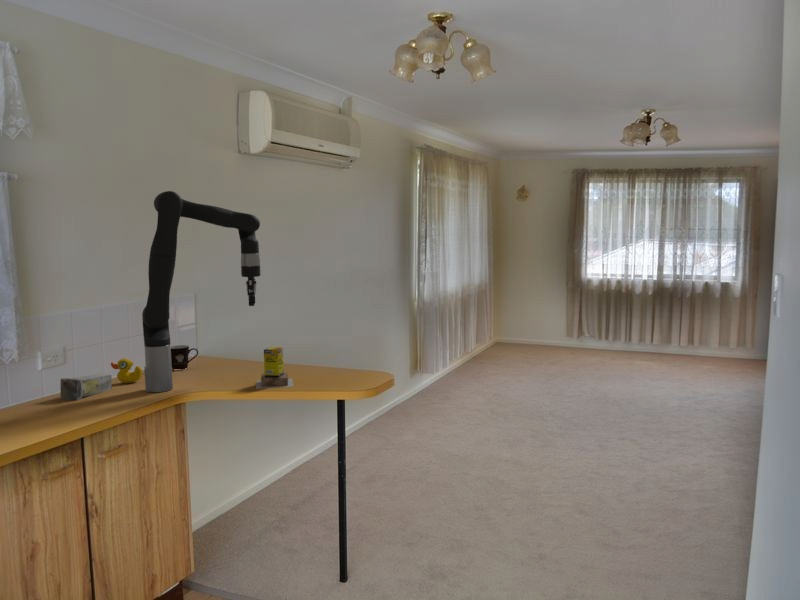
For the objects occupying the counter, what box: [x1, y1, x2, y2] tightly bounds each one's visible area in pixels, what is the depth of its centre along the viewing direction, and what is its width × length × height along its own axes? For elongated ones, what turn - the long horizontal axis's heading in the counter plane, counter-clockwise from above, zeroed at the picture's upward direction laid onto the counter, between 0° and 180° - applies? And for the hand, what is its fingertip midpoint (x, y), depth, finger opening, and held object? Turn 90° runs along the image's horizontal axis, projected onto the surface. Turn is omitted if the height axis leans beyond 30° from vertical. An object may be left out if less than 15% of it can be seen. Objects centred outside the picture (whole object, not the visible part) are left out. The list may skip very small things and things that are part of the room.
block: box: [59, 373, 113, 401], centre depth 237 cm, size 19×8×8 cm, turn 161°
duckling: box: [110, 358, 143, 384], centre depth 254 cm, size 11×5×10 cm, turn 109°
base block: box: [260, 372, 289, 387], centre depth 248 cm, size 10×10×3 cm
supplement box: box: [263, 346, 285, 377], centre depth 247 cm, size 6×6×11 cm
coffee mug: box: [171, 344, 199, 369], centre depth 280 cm, size 12×9×10 cm
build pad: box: [255, 378, 294, 390], centre depth 248 cm, size 14×14×1 cm
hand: (252, 304), depth 257 cm, fingers open, 8 cm apart
